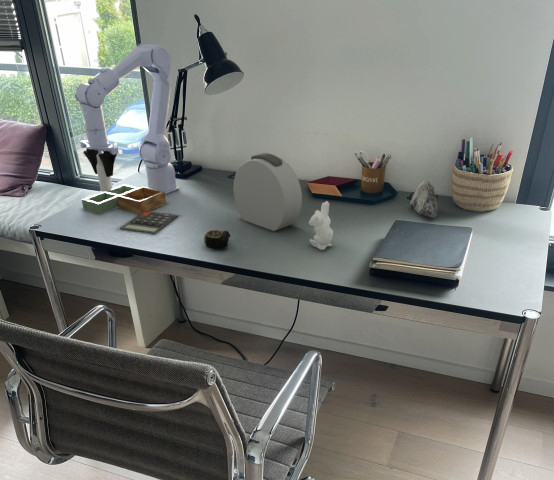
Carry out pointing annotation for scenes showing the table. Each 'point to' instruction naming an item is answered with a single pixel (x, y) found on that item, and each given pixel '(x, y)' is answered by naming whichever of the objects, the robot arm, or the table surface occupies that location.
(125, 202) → the open wooden box
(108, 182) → the eye dropper bottle
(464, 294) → the table surface
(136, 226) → the calculator
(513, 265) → the table surface
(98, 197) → the green divided tray
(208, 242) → the tape measure
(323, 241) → the white bunny figurine
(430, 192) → the mineral rock
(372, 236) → the table surface
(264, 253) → the table surface
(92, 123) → the robot arm
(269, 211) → the alarm clock
